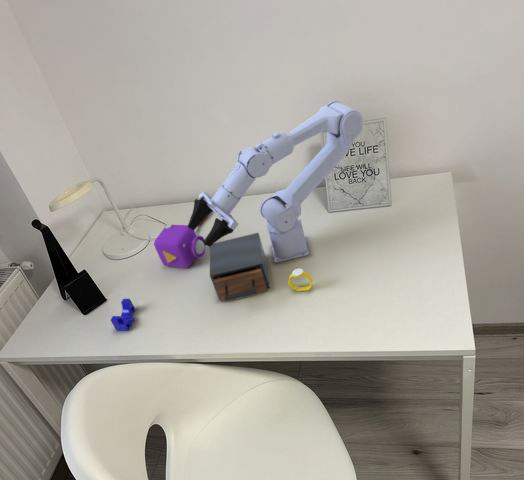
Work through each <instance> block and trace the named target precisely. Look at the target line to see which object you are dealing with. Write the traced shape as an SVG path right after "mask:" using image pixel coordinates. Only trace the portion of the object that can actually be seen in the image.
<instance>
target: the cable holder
mask: <svg viewBox="0 0 524 480" xmlns="http://www.w3.org/2000/svg"><path fill="white" fill-rule="evenodd" d="M120 303H121V304H120V305H121V307H122V311H121V314H120V315H113V316H112V317H111V319H110V322H111V324H112V325H113V327H114V329H115V330H116V332H129V330H130V329H131V327H132V325H133V323H134V322H135V319H134V317H133V315H134V313H135V311H136V307H135V306H134V304H133V302H132V300H131V298H122V300H121V302H120Z"/></svg>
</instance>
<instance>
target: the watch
mask: <svg viewBox="0 0 524 480" xmlns="http://www.w3.org/2000/svg"><path fill="white" fill-rule="evenodd" d="M301 277H305V278H306V279H307V280H308V281H309V283H310V284H309V285H308V286H307V285H306V286H298V285H295V284H294V283H293V281H292V278H297V279H298V278H301ZM287 282H288V286H289V287H290V288H291V290H293V291H296V292H305V291H307V292H308V291H310V290H311V289H312V287H313V283H314V279H313V277H312V275H310V274H309V273H308V272H307V271H304V269H302V268H301V267H299V268H295V269H294V270H292V272H291V273H290V274H289V277H288V281H287Z"/></svg>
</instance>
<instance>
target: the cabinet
mask: <svg viewBox="0 0 524 480" xmlns="http://www.w3.org/2000/svg"><path fill="white" fill-rule="evenodd" d="M256 267H260V268H261V269H262V273H263V276H264V279H265V282H266V286H267V290H270V289H271V285H270V278H269V271H268V262H267V256H266V253H265V250H264V246H263V243H262V240H261V237H260V233H259V232H255V233H251V234H247V235H243V236H238V237H235V238H231V239H226V240H223V241H217V242H215V243H214V244H212V245H211V246H210V247H209V278H210V280H211V282H212V285H213V287H214V291H215V293H216V295H217V298H218V300H219V301H220V298H219V296H218V293H217V290H216V288H215V285H214V283H213V279H217V277H218V276H222V275H226V274H231V273H235V272H239V271H243V270H247V269H252V268H256Z"/></svg>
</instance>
